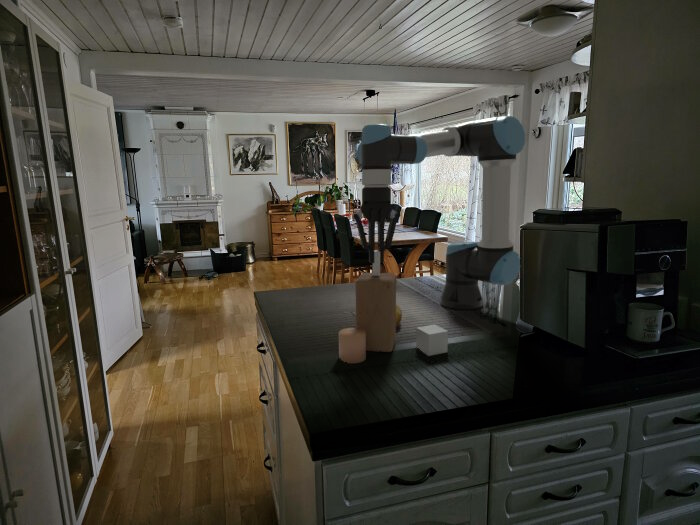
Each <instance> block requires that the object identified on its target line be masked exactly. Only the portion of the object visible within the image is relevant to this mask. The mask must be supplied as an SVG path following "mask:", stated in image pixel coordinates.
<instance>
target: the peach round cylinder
mask: <svg viewBox="0 0 700 525" xmlns="http://www.w3.org/2000/svg"><path fill="white" fill-rule="evenodd" d="M339 358H340V359H341V360H342V361H344V362H343V363H345V362H347V363H346V364H359V363H362V362H364V361H365V360H366V359H367V351H366V331H365V330H363V329H359V328H356V327H347V328H343V329H339V331H338V359H339ZM340 359H339V360H340ZM341 360H340V361H341ZM342 361H341V362H342Z"/></svg>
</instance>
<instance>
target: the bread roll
mask: <svg viewBox="0 0 700 525" xmlns="http://www.w3.org/2000/svg"><path fill="white" fill-rule="evenodd" d="M402 315H403V310H402V309H401V307H400V305H398V304H397V303H396V327H397V326H398V325H399V324H401V321H402Z"/></svg>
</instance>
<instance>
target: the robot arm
mask: <svg viewBox="0 0 700 525" xmlns="http://www.w3.org/2000/svg"><path fill="white" fill-rule="evenodd" d="M525 141H526V133H525V129H524V126H523V124H522V123H521V121H520V120H519V119H518V118H516V117H515V116H511V115H500V116H494V117H488V118H483V119H475V120H471V121H468V122H464V123H460V124H456V125H453V126H447V127H444V128H443V129H442V130H439V131H432V132H430V131H429V132H423V133H414V134H394V133H392V127H391V126H390V125H388V124H385V123H371V124H366V125H365V126H363V128H362V131H361V142H360V143H359V144H358V146H357V150H356V156H357V159H358V160H357V161H359V163H360V164H361V185H362V186H363V187H362V189H361V205H360V208H359V210H357V211H356V212H354V213H352V215H351V217H352V218H353V220H354V221H355V225H356V228H357V232H358V235H359V240H360V244H361V248H363V249H364V250H367V251H368V262H369V263H370V264H372V273H373V275H375V276H380V273H381V263H384V262H385V254H384V253H385V251H386V250H387V249H388V250H389V249H391V247H392V244H393V240H394V234H395V230H396V227H397V222H398V220H400V217H401V215H402V214H401V213H400V212H397V211H395V210H394V208H393V206H392V204H391V197H392V194H391V192H392V191H391V189H392V188H391V187H389V186H390V185H391V184H392V177H391V174H392V170H391V169H392V165H404V164H405V165H415V164H416V165H417V164H421V163H422V162H423V161H424V160H425V158H431V157H436V156H437V157H438V156H445V157H477V162H478V163H479V165H481V166H482V192H481V193H482V198H481V199H482V200H481V201H482V202H481V207H482V208H481V240H479V241H464V242H453V243H450V244H448V245H447V246H446V252H445V253H446V254H445V284H444V287H443V289H442V292H441V295H440V300H439V302H440V305H441V306H444V307H446V308H448V309H455V310H476V309H479V308H481V307H482V306H483V297H482V292H481V290H480V287H479V282H484V283H489V284H492V285H499V286H507V285H509V284H511V283H512V282H513V281H514V280H515V279H516V277H517V276H518V274H519V272H520V269H521V265H520V259H521V257H520V255H519V253H518V252H517V251H514V243H513V242H512V241H511V240H510V239H509V238H510V207H511V206H510V203H511V172H512V170H511V168H512V167H511V166H512V165H513V164H514V163H515V162H516V161H517V155H518V154H519V153H521V152H522V150H523V149H524V148H523V147H524V146H525V143H526V142H525ZM363 217H365V219H366V220H367V225H368V235H366V233H365V228H364V224H363V221H362V219H363ZM388 217H389V218H390V220H389V223H388V228H387V232H386V236H385V225H386V224H385V223H386V220H387V218H388ZM376 222H377V249H376V250H375V248H376V246H375V245H376V234H375V233H376ZM367 236H368V239H367Z"/></svg>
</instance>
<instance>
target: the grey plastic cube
mask: <svg viewBox="0 0 700 525" xmlns="http://www.w3.org/2000/svg"><path fill="white" fill-rule="evenodd" d="M415 331H416V332H415V334H416V339H415V340H416V341H415V348H416V347H417V348H419V349H420V350H421V351H422V353H423V354H425V355H426V356H428V357H431V356H434V355H440V354H445V353H448V348H449V347H448V343H449V341H448V340H449V337H448V336H449V331H448V330H446V329H445V328H442V327H441V326H439V325H437V324H429V325H424V326H419V327H416V330H415ZM417 348H416V349H417ZM420 350H419V351H420ZM421 351H420V352H421Z"/></svg>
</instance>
